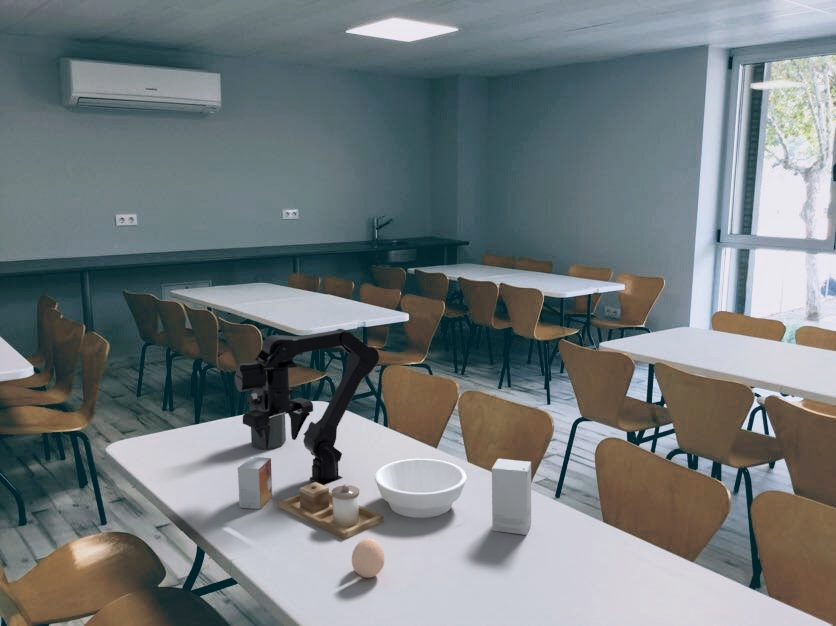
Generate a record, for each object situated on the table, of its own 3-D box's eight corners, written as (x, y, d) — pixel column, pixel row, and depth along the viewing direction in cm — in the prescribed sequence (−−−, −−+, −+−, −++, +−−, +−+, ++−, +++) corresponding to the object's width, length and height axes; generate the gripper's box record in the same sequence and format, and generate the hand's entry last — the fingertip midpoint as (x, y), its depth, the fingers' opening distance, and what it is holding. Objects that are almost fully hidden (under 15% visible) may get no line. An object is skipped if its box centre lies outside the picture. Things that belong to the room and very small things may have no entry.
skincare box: (531, 524, 172) (533, 461, 170) (526, 537, 166) (528, 471, 164) (496, 519, 175) (497, 456, 172) (490, 531, 169) (491, 467, 166)
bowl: (479, 497, 187) (479, 466, 186) (444, 535, 167) (445, 501, 166) (399, 482, 197) (399, 453, 195) (358, 517, 176) (357, 484, 175)
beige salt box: (316, 500, 183) (315, 481, 182) (329, 506, 180) (328, 486, 179) (300, 507, 180) (299, 487, 179) (313, 513, 176) (312, 492, 175)
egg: (358, 587, 146) (357, 550, 144) (347, 571, 152) (347, 535, 150) (389, 580, 148) (389, 543, 147) (377, 564, 154) (377, 529, 153)
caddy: (317, 495, 188) (317, 487, 188) (383, 524, 172) (383, 515, 172) (279, 510, 180) (278, 501, 179) (344, 542, 164) (344, 533, 163)
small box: (260, 510, 180) (258, 469, 178) (238, 508, 181) (237, 467, 179) (273, 496, 188) (271, 457, 186) (252, 494, 189) (250, 455, 187)
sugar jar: (347, 512, 177) (346, 477, 175) (365, 521, 172) (364, 484, 171) (326, 521, 172) (325, 485, 170) (344, 530, 168) (344, 492, 166)
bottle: (259, 437, 231) (255, 344, 226) (289, 438, 230) (286, 345, 224) (247, 449, 221) (243, 351, 216) (278, 450, 220) (275, 352, 214)
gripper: (286, 373, 199) (288, 428, 202) (228, 387, 185) (230, 446, 188) (313, 380, 192) (315, 437, 194) (255, 395, 178) (257, 457, 181)
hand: (279, 444), depth 189 cm, fingers open, 9 cm apart
